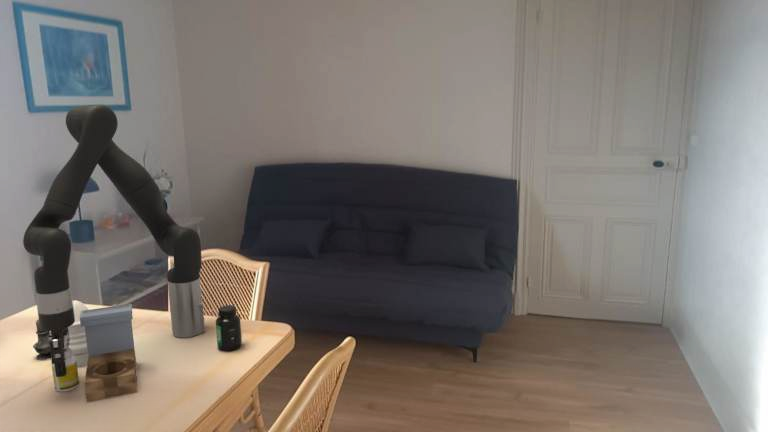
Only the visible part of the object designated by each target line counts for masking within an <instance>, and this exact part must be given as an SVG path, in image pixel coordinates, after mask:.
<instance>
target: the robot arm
mask: <svg viewBox="0 0 768 432" xmlns="http://www.w3.org/2000/svg"><path fill="white" fill-rule="evenodd" d="M65 125H66V129H67V131H68V132H69V134H70V136H71V137H72V138H73V139H74V140H75V141H76V143H78V145H77V146H76V149H75V151H74V152H73V154H72V156H71V157H70V158H69V159H68V161H67V162H66V163H65V165H64V166H63V167H62V168H61V170H60V171H58V173H57V175H56V176H55V178H54V180H53V181H52V183H51V186H50V188H49V190H48V193H47V194H46V198H45V201H44V203H43V206H42V207H41V208H40V209H39V211H38V212H37V214H36V215H35V216H34V217H33V219H32V220H31V222H30V223H29V225H28V226H27V228H26V230H25V232H24V235H23V240H22V242H23V247H24V249H25V251H26V252H27V253H28V254H30V255H34V256H40V257H42V260H43V261H42V265H40V266H38V267H37V268H36V269H35V270H34V274H33V275H34V277H33V278H34V286H35V291H36V296H35V297H36V301H35V302H36V309H37V317H38V319H39V324H40V328H41V329H42V330H46V331H47V330H48V331H50V336H49V344H50V352H51V358H50V359H51V365H52V364H54V365H55V372H56V377H62V376H66V374H67V372H66V364H65V360H66V358H65V353H66V352H67V348H69V347H67V346H69V344H70V343H69V341H70V336H69V329H68V327H69V326H71V325H72V324H74V322H75V317H74V309H73V301H74V300H73V295H72V291H71V288H70V287H71V286H70V280H69V279H70V278H69V274H68V273H69V272H68V270H69V267H70V260H71V253H72V241H71V239H70V237H69V234H68V233H67V232H66V231H65V230H64V229H61V228H60V227H61V225H62V224H63V223H65V222H68V221H69V222H70V221H71V220H72V219H73V218H75V215H76V213H77V210H78V208H79V205H80V202H81V200H82V199H83V195H84V191H85V190H86V187H87V185H88V183H89V181H90V179H91V177H92V174H93V173H94V171H95V169H96V167H97V165H98V166H99V167H100V169H101V170H102V171H103V173H104V174H105V175H106V177H107V178H108V180H110V181H111V183H112V184H113V186H115V188H116V189H117V191H118V193H119V194H120V195H121V196H122V198H123V199H124V200H125V202H126V203H127V204H128V205H129V206H130V208H131V209H132V210H133V212H135V214H136V215H137V216H138V218H139V219H140V220H141V221H142V222H143V223H144V225H145V226H146V228H147V230H148V231H149V233H150V234H151V236H152V238H153V239H154V241H155V243H156V244H157V245H158V247H159V249H160V250H161V251H162V252H163V253H165V255H168V256H171V257H173V267H171V268H169V269H168V270H167V273H166V277H167V278H166V280H167V287H168V288H167V289H168V299H169V300H168V301H169V311H170V320H171V330H172V335H173V336H174V337H176V338H183V339H185V338H191V337H196V336H199V335H200V334H203V333H206V330H205V327H206V326H205V315H204V304H203V300H202V299H203V298H202V288H201V277H200V273H201V272H200V271H201V269H202V266H203V265H202V261H203V260H202V242H201V238H200V235H199V233H198V232H197V231H196V230H195V229H193V228H190V227H187V226H186V227H185V226H181V225H179V224H178V223H176V221H174V219H173V217H172V216H170V214H169V213H168V212H167V210H166V209H165V205H164V199H163V196H162V192H161V190H160V189H161V188H160V187H159V185H158V183H157V182H156V181H155V179H154V178H153V176H152V175H151V174H150V172H149V171H148V170H147V169H146V168H145V167H144V166H143V164H141V163H139V162H138V161H137V160H135V159H134V158H133V157H131V156H130V155H129V154H127V153H126V152H125V151H123V150H122V149H121V147H119V146H118V145H117V144H116V142H114V140H113V138H114V137H115V134H116V132H117V130H118V118H117V115H116V113H115V111H114V110H112V108H111V107H109V106H106V105H104V104H85V105H78V106H74V107H73V108H70V110H69V111H68V112H67V113H66V115H65ZM56 354H60V355H61V357H59V358H56Z"/></svg>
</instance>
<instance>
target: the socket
mask: <svg viewBox="0 0 768 432" xmlns="http://www.w3.org/2000/svg"><path fill="white" fill-rule="evenodd" d="M135 356H136V350H134V349H128V350H123V351H117V352H111V353H105V354H99V355H93V356H88V363H87V365H86V369H85V370H86V371H85V376H84V377H85V378H84V390H85V398H86V402H87V403H89V402H93V401H97V400H98V401H99V400H103V399H108V398H113V397H118V396H119V397H120V396H123V395H128V394H133V393H137V392H138V387H137V386H138V385H137V383H138V382H137V381H138V380H137V358H136V359H135Z"/></svg>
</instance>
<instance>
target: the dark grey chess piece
mask: <svg viewBox="0 0 768 432" xmlns="http://www.w3.org/2000/svg"><path fill="white" fill-rule="evenodd" d="M35 325H36V326H35V327H36V331H35V334H36V335H37V342H35V343H34V344H32V345H33V346H32V347H33V349H34V350H35V352H36V353H37V355H36V357H35V359H36V360H39V361H44V360H46V361H47V360H49V359H51V352H50V344H49V336H50V332H51V331H48V330H47V331H46V330H42V329H41V328H40V324H39V318H38V319H37V320H36V322H35Z"/></svg>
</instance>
